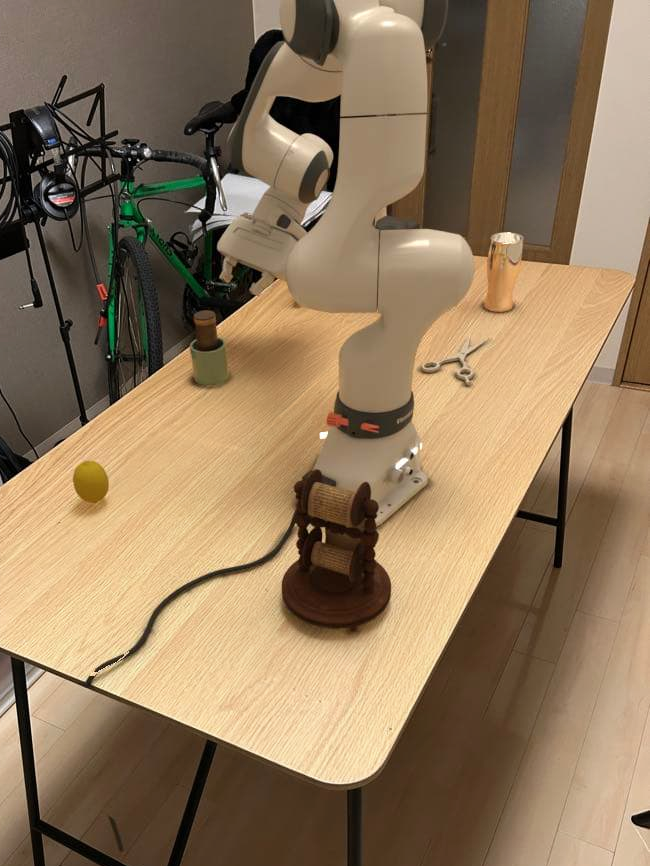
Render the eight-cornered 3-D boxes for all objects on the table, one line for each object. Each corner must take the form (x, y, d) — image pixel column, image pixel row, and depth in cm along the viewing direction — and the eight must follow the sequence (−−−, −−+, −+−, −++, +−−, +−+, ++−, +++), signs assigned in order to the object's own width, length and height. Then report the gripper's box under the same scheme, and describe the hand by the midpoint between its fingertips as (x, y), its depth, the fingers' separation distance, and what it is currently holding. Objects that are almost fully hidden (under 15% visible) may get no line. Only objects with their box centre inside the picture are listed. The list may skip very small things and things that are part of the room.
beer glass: (480, 312, 178) (488, 243, 169) (483, 299, 183) (490, 231, 174) (514, 313, 176) (523, 244, 167) (515, 300, 181) (525, 232, 172)
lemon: (96, 488, 137) (87, 448, 132) (119, 499, 134) (110, 458, 129) (71, 505, 134) (61, 464, 129) (94, 516, 131) (84, 475, 126)
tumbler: (216, 390, 160) (213, 355, 155) (187, 383, 163) (182, 348, 158) (235, 374, 164) (232, 339, 160) (206, 368, 168) (202, 333, 163)
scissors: (416, 370, 158) (456, 328, 171) (416, 374, 159) (456, 331, 171) (468, 382, 153) (506, 338, 166) (468, 386, 154) (506, 341, 166)
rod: (214, 382, 161) (207, 320, 153) (197, 378, 163) (189, 317, 155) (225, 373, 164) (219, 312, 156) (208, 369, 166) (201, 308, 157)
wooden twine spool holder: (407, 581, 114) (415, 461, 101) (363, 651, 104) (366, 529, 92) (312, 551, 120) (308, 435, 108) (262, 615, 111) (252, 496, 98)
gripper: (231, 201, 159) (196, 265, 161) (300, 224, 146) (261, 294, 148) (251, 219, 164) (216, 281, 166) (319, 242, 151) (281, 309, 153)
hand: (238, 287), depth 157 cm, fingers open, 8 cm apart
